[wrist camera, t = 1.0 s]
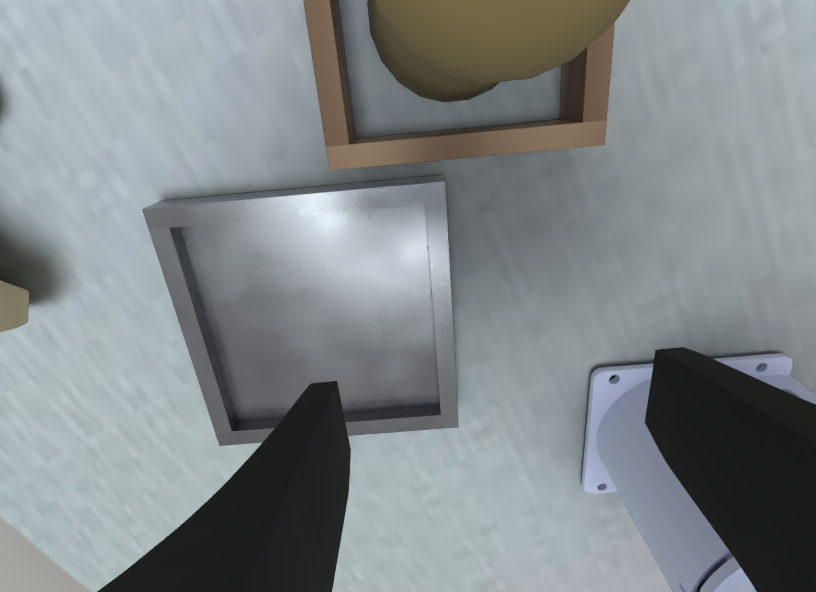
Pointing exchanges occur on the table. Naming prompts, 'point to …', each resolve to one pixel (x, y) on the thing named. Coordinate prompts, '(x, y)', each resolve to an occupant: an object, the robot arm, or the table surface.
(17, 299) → the door knob
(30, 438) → the table surface
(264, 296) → the grey square tray
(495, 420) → the table surface
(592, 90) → the walnut stand
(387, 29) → the olive peg figure
